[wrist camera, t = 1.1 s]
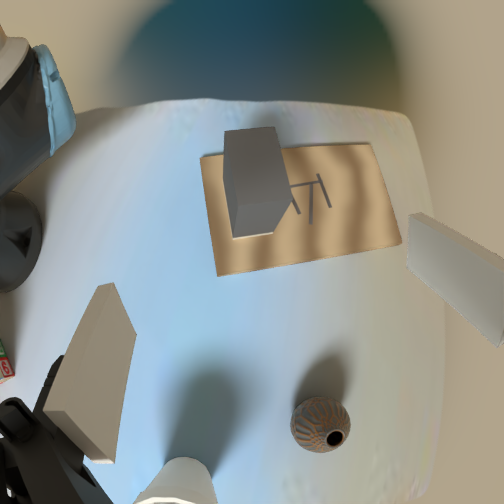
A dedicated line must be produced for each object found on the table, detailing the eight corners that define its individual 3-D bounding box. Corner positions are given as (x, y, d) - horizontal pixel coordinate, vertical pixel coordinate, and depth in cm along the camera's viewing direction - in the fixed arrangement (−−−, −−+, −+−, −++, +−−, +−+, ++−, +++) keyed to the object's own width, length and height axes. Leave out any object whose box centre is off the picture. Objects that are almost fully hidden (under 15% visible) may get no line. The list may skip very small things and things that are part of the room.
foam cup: (232, 492, 31) (239, 550, 19) (170, 506, 30) (156, 562, 17) (204, 438, 33) (198, 488, 20) (139, 454, 31) (110, 502, 19)
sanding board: (217, 276, 38) (217, 275, 37) (200, 162, 41) (199, 157, 40) (398, 245, 41) (402, 243, 40) (367, 148, 45) (370, 144, 43)
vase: (342, 425, 35) (371, 446, 26) (295, 447, 34) (315, 476, 25) (327, 383, 36) (354, 397, 28) (277, 405, 35) (293, 427, 26)
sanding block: (222, 181, 39) (224, 131, 28) (260, 176, 40) (274, 126, 29) (232, 239, 38) (238, 205, 27) (272, 233, 38) (293, 198, 27)
